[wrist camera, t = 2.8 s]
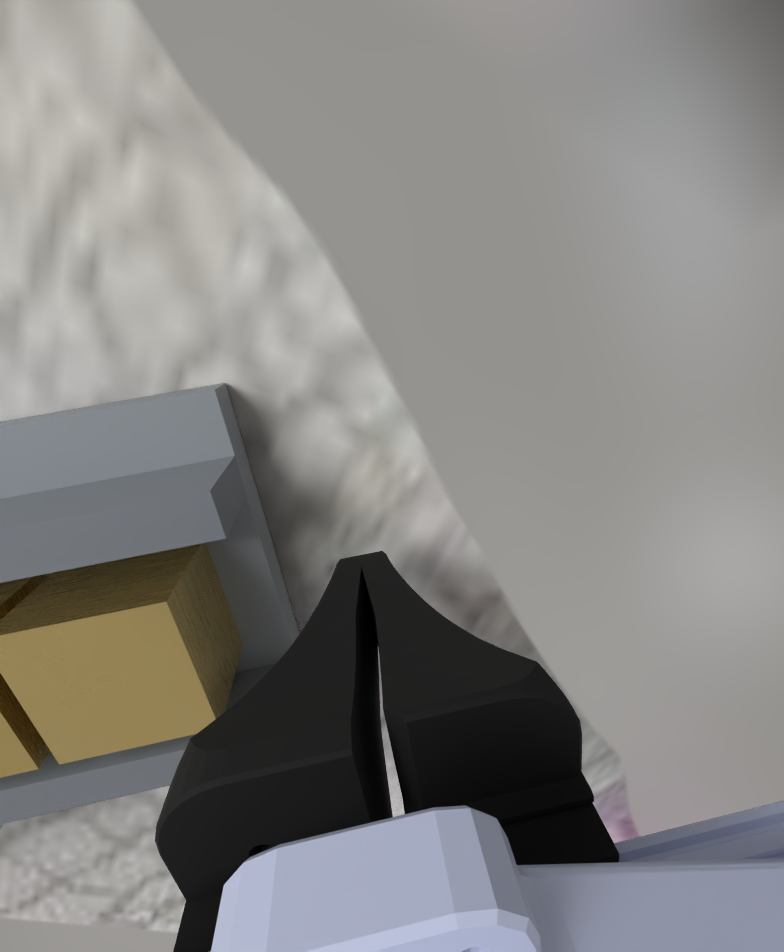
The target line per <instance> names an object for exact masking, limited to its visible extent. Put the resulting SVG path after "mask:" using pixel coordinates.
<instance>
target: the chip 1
mask: <svg viewBox="0 0 784 952" xmlns="http://www.w3.org/2000/svg"><path fill="white" fill-rule="evenodd" d="M46 578H47V576H46V574H43V575H38V576H33V577H28V578H22V579H17V580H12V581H7V582H2V583H0V620H1V619H2V618H3V617H5V616H6V615H7V614H8V613H9V612H10V611H11V610H12V609H13V608H14V607H16V606H17V605H18V604H19V603H20V602H21V601H22V600H23V599H24V598H25V597H27V596H28V595H29V594H30V593H31V592H32V591H33V590H34V589H35V588H36V587H38V586H39V585H40V584H41V583H42V582H43V581H44V580H45V579H46ZM49 753H50V749H49V748H48V746H47V745H46V743H45V742H44V740H43V738H42V737H41V735H40V734H39V732H38V731H37V729H36V728H35V726H34V724H33V723H32V721H31V720H30V718H29V717H28V715H27V714H26V712H25V710H24V709H23V707H22V706H21V704H20V703H19V701H18V700H17V698H16V696H15V695H14V693H13V692H12V690H11V689H10V687H9V686H8V684H7V682H6V681H5V679H4V678H3V676H2V675H1V673H0V778H2V777H6V776H10V775H15V774H19V773H24V772H28V771H33V770H37V769H39V768H40V766H41V765H42V763H43V762H44V760H45V759H46V757H47V756H48V754H49Z"/></svg>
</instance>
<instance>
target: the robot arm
mask: <svg viewBox="0 0 784 952" xmlns="http://www.w3.org/2000/svg"><path fill="white" fill-rule="evenodd" d="M378 647H379V655H380V667H381V678H382V694H383V710H384V715H385V719H386V724H387V728H388V733H389V738H390V742H391V747H392V751H393V756H394V761H395V765H396V770H397V774H398V779H399V783H400V788H401V793H402V797H403V804H404V811H405V814H404V815H400V816H396V817H393V816H392V809H391V802H390V794H389V787H388V779H387V772H386V764H385V756H384V748H383V741H382V732H381V720H380V695H379V667H378ZM581 766H582V731H581V725H580V720H579V718H578V717H577V715H576V713H575V711H574V709H573V707H572V706H571V704H570V702H569V701H568V699H567V698H566V696H565V695H564V694H563V692H562V691H561V690H560V688H559V687H558V686H557V685H556V683H555V682H554V681H553V680H552V678H551V677H550V676H549V675H548V674H547V673H546V671H545V670H544V669H543V668H542V667H541V666H540V664H539V663H538V662H536V661H533V660H531V659H528V658H525V657H522V656H520V655H517V654H514V653H511V652H508V651H506V650H503V649H501V648H498V647H496V646H494V645H492V644H490V643H487V642H485V641H483V640H481V639H479V638H477V637H475V636H474V635H472V634H470V633H468V632H467V631H465V630H463V629H461V628H460V627H458V626H457V625H455V624H454V623H452V622H451V621H449V620H448V619H446V618H445V617H444V616H442V615H441V614H440V613H439V612H437V611H436V610H435V609H434V608H432V607H431V606H430V605H429V604H428V603H426V602H425V601H424V600H423V599H422V598H421V597H420V596H419V595H418V594H417V593H416V592H415V591H414V590H413V589H412V588H411V587H410V586H409V585H408V584H407V583H406V581H405V580H404V579H403V578H402V577H401V576H400V574H399V573H398V572H397V571H396V569H395V568H394V567H393V565H392V564H391V562H390V561H389V559H388V557H387V555H386V553H384V552H383V551H379V552H374V553H369V554H364V555H359V556H354V557H349V558H344V559H340V560H339V562H338V563H337V565H336V568H335V571H334V573H333V575H332V578H331V580H330V582H329V584H328V586H327V588H326V590H325V592H324V594H323V596H322V598H321V600H320V602H319V604H318V606H317V607H316V609H315V611H314V612H313V614H312V616H311V617H310V619H309V621H308V622H307V624H306V625H305V627H304V628H303V630H302V631H301V633H300V634H299V636H298V637H297V638H296V640H295V641H294V643H293V644H292V645H291V646H290V648H289V649H288V650H287V652H286V653H285V654H284V655H283V656H282V657H281V659H280V660H279V661H278V662H277V663H276V664H275V665H274V666H273V667H272V668H271V670H270V671H269V672H268V673H267V674H266V675H265V676H264V677H263V678H262V679H261V680H260V681H259V682H258V683H257V684H256V685H255V686H254V687H253V688H252V689H251V690H250V691H249V692H247V693H246V694H245V695H244V696H243V697H242V698H241V699H240V700H238V701H237V702H236V703H235V704H234V705H233V706H232V707H230V708H229V709H228V710H227V711H226V712H224V713H223V714H222V715H220V716H219V717H218V718H217V719H215V720H214V721H213V722H211V723H210V724H209V725H208V726H206V727H205V728H204V729H202V730H201V731H200V732H199V733H197V734H196V735H194V736H193V737H192V738H190V740H189V742H188V745H187V747H186V749H185V751H184V754H183V756H182V758H181V760H180V762H179V764H178V767H177V769H176V772H175V774H174V777H173V779H172V782H171V785H170V788H169V791H168V794H167V797H166V800H165V802H164V805H163V808H162V811H161V814H160V817H159V820H158V822H157V826H156V836H155V842H156V845H157V848H158V851H159V853H160V856H161V857H162V859H163V861H164V863H165V864H166V866H167V868H168V870H169V871H170V873H171V875H172V876H173V878H174V880H175V882H176V883H177V885H178V887H179V889H180V890H181V892H182V894H183V896H184V897H185V899H186V904H185V908H184V912H183V916H182V920H181V924H180V927H179V931H178V936H177V939H176V944H175V947H174V951H173V952H784V801H780V802H776V803H772V804H768V805H764V806H761V807H756V808H752V809H749V810H745V811H741V812H737V813H733V814H729V815H725V816H721V817H717V818H713V819H709V820H705V821H701V822H697V823H693V824H689V825H685V826H681V827H677V828H673V829H669V830H665V831H662V832H658V833H654V834H650V835H646V836H642V837H638V838H634V839H630V840H626V841H622V842H618V843H613V841H612V839H611V837H610V835H609V833H608V831H607V830H606V828H605V826H604V824H603V822H602V820H601V818H600V816H599V815H598V813H597V811H596V809H595V807H594V805H593V803H592V802H594V796H593V793H592V790H591V788H590V786H589V785H588V783H587V781H586V779H585V777H584V775H583V774H582V772H581Z"/></svg>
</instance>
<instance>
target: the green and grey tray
mask: <svg viewBox="0 0 784 952" xmlns="http://www.w3.org/2000/svg"><path fill="white" fill-rule="evenodd" d="M201 543H207V546H208V549H209V552H210V554H211V557H212V560H213V563H214V565H215V568H216V571H217V574H218V577H219V579H220V582H221V585H222V588H223V591H224V593H225V596H226V599H227V602H228V604H229V607H230V610H231V613H232V616H233V618H234V621H235V624H236V627H237V630H238V632H239V635H240V638H241V641H242V643H243V647H242V651H241V655H240V658H239V662H238V666H237V669H236V673H235V676H234V680H233V684H232V687H231V691H230V694H229V698H228V702H227V705H226V709H225V712H226V711H227V710H228V709H229V708H230V707H232V706H233V705H234V704H235V703H236V702H237V701H238V700H240V699H241V698H242V697H243V696H244V695H245V694H246V693H247V692H249V691H250V690H251V689H252V688H253V687H254V686H255V685H256V684H257V683H258V682H259V681H260V680H261V679H262V678H263V677H264V676H265V675H266V674H267V673H268V672H269V671H270V670H271V668H272V667H273V666H274V665H275V664H276V663H277V662H278V661H279V660H280V659H281V657H282V656H283V655H284V654H285V653H286V652H287V650H288V649H289V648H290V646H291V645H292V644H293V643H294V641H295V640H296V638H297V637H298V636H299V630H298V627H297V624H296V620H295V617H294V613H293V610H292V607H291V603H290V600H289V596H288V593H287V590H286V586H285V583H284V579H283V576H282V573H281V569H280V566H279V562H278V559H277V556H276V552H275V549H274V545H273V542H272V539H271V535H270V532H269V528H268V525H267V522H266V518H265V515H264V511H263V508H262V505H261V501H260V498H259V494H258V491H257V488H256V484H255V481H254V477H253V474H252V471H251V467H250V464H249V461H248V457H247V454H246V450H245V447H244V444H243V440H242V437H241V433H240V430H239V427H238V423H237V420H236V416H235V413H234V410H233V406H232V403H231V399H230V396H229V393H228V389H227V386H226V383H223V384H217V385H211V386H206V387H200V388H194V389H188V390H182V391H177V392H171V393H165V394H159V395H154V396H148V397H142V398H136V399H131V400H125V401H119V402H113V403H108V404H102V405H96V406H90V407H84V408H79V409H73V410H67V411H61V412H56V413H50V414H44V415H38V416H33V417H27V418H21V419H15V420H9V421H4V422H0V583H2V582H7V581H12V580H17V579H22V578H28V577H33V576H38V575H43V574H46V576H47V577H49V576H50V575H51V574H52V573H53V572H58V571H63V570H68V569H73V568H79V567H84V566H89V565H94V564H99V563H104V562H109V561H114V560H119V559H124V558H130V557H135V556H140V555H145V554H150V553H155V552H160V551H165V550H170V549H176V548H181V547H186V546H191V545H196V544H201ZM194 735H196V734H194ZM194 735H190V736H185V737H181V738H176V739H172V740H167V741H163V742H158V743H154V744H149V745H145V746H140V747H136V748H131V749H127V750H122V751H118V752H113V753H109V754H105V755H100V756H96V757H91V758H87V759H82V760H78V761H73V762H69V763H64V764H60V765H59V763H58V762H57V760H56V759H55V757H54V756H53V754H52V752H51V751H50V753H49V754H48V756H47V757H46V759H45V760H44V762H43V763H42V765H41V766H40V768H39V769H37V770H33V771H28V772H24V773H19V774H15V775H10V776H6V777H2V778H0V829H1V828H2V826H3V825H4V823H8V822H12V821H17V820H21V819H25V818H30V817H34V816H38V815H43V814H47V813H51V812H56V811H60V810H64V809H69V808H73V807H77V806H82V805H86V804H91V803H95V802H99V801H104V800H108V799H112V798H117V797H121V796H125V795H130V794H134V793H138V792H143V791H147V790H151V789H156V788H160V787H164V786H169V785H171V782H172V779H173V777H174V774H175V772H176V769H177V767H178V764H179V762H180V760H181V758H182V756H183V754H184V751H185V749H186V747H187V745H188V742H189V740H190V738H192V737H193V736H194Z"/></svg>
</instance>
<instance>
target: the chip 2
mask: <svg viewBox="0 0 784 952" xmlns="http://www.w3.org/2000/svg"><path fill="white" fill-rule="evenodd" d="M242 647H243V643H242V641H241V638H240V635H239V632H238V630H237V627H236V624H235V621H234V618H233V616H232V613H231V610H230V607H229V604H228V602H227V599H226V596H225V593H224V591H223V588H222V585H221V582H220V579H219V577H218V574H217V571H216V568H215V565H214V563H213V560H212V557H211V554H210V552H209V549H208V546H207V543H201V544H196V545H191V546H186V547H181V548H176V549H170V550H165V551H160V552H155V553H150V554H145V555H140V556H135V557H130V558H124V559H119V560H114V561H109V562H104V563H99V564H94V565H89V566H84V567H79V568H73V569H68V570H63V571H58V572H53V573H52V574H51V575H50V576H49V577H47V578H46V579H45V580H44V581H43V582H42V583H41V584H40V585H39V586H38V587H36V588H35V589H34V590H33V591H32V592H31V593H30V594H29V595H28V596H27V597H25V598H24V599H23V600H22V601H21V602H20V603H19V604H18V605H17V606H16V607H14V608H13V609H12V610H11V611H10V612H9V613H8V614H7V615H6V616H5V617H3V618H2V619H1V620H0V673H1V675H2V676H3V678H4V679H5V681H6V682H7V684H8V686H9V687H10V689H11V690H12V692H13V693H14V695H15V696H16V698H17V700H18V701H19V703H20V704H21V706H22V707H23V709H24V710H25V712H26V714H27V715H28V717H29V718H30V720H31V721H32V723H33V724H34V726H35V728H36V729H37V731H38V732H39V734H40V735H41V737H42V738H43V740H44V742H45V743H46V745H47V746H48V748H49V749H50V751H51V752H52V754H53V756H54V757H55V759H56V760H57V762H58V763H59V765H60V764H64V763H69V762H73V761H78V760H82V759H87V758H91V757H96V756H100V755H105V754H109V753H113V752H118V751H122V750H127V749H131V748H136V747H140V746H145V745H149V744H154V743H158V742H163V741H167V740H172V739H176V738H181V737H185V736H190V735H194V734H197V733H199V732H200V731H201V730H202V729H204V728H205V727H206V726H208V725H209V724H210V723H211V722H213V721H214V720H215V719H217V718H218V717H219V716H220V715H222V714H223V713H224V712H225V709H226V705H227V702H228V698H229V694H230V691H231V687H232V684H233V680H234V676H235V673H236V669H237V666H238V662H239V658H240V655H241V651H242Z"/></svg>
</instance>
